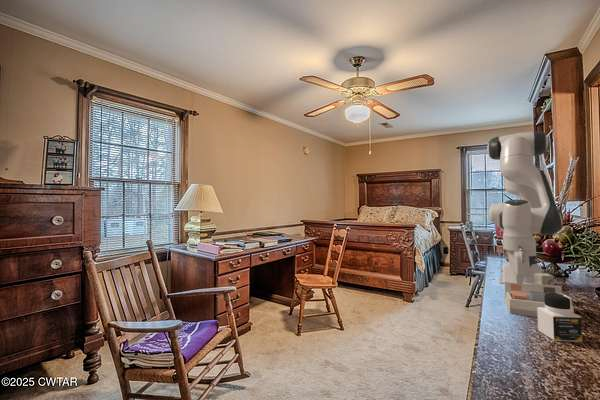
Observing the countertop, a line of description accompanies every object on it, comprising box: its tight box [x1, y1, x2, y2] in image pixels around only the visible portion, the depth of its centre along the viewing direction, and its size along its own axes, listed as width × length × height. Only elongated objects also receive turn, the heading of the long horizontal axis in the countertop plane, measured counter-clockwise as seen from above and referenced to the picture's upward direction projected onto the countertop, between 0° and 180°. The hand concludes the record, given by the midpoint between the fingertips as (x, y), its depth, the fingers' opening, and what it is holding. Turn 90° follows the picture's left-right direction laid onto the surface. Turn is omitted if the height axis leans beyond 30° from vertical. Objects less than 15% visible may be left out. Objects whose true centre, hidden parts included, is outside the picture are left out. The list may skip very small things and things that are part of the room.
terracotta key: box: [512, 292, 528, 301], centre depth 106 cm, size 5×4×2 cm
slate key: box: [529, 290, 545, 302], centre depth 104 cm, size 5×4×2 cm
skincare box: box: [534, 272, 555, 286], centre depth 118 cm, size 5×4×10 cm
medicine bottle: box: [537, 293, 583, 343], centre depth 86 cm, size 7×7×12 cm
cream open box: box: [503, 281, 575, 318], centre depth 106 cm, size 14×17×8 cm
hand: (519, 282), depth 107 cm, fingers closed
